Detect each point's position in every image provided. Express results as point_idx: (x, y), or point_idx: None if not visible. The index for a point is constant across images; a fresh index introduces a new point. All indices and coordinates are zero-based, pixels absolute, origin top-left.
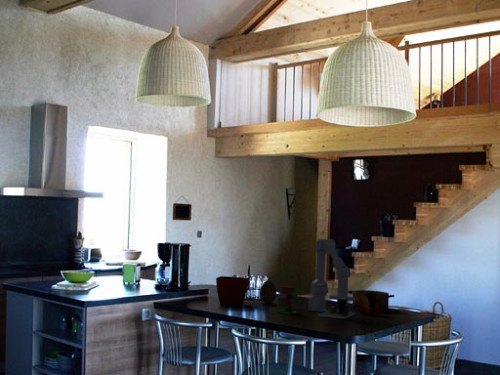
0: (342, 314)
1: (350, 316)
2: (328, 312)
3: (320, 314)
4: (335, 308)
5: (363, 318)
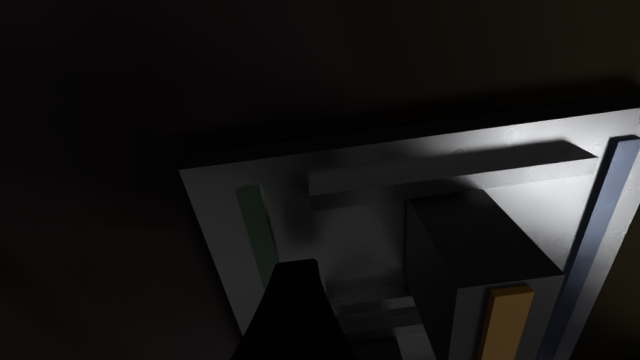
0: None
1: None
2: None
3: (634, 106)
4: (438, 327)
5: (93, 344)
